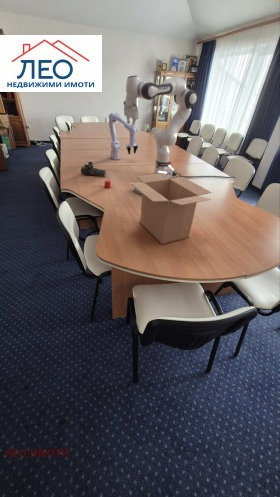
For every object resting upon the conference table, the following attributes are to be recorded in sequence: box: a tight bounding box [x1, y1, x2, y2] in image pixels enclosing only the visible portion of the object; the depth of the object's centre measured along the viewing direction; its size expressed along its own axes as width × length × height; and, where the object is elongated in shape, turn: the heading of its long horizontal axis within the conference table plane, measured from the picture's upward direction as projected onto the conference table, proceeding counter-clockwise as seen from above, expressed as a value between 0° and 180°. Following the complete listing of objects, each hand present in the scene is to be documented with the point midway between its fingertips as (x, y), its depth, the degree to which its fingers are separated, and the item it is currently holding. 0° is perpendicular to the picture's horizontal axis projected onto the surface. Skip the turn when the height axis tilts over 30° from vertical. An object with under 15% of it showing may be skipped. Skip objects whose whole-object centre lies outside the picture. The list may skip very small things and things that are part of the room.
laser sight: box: [80, 161, 107, 177], centre depth 198 cm, size 10×22×10 cm, turn 78°
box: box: [128, 173, 212, 245], centre depth 124 cm, size 44×36×27 cm
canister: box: [104, 179, 112, 189], centre depth 179 cm, size 5×5×5 cm
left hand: (131, 153), depth 237 cm, fingers open, 7 cm apart
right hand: (130, 124), depth 171 cm, fingers open, 8 cm apart
